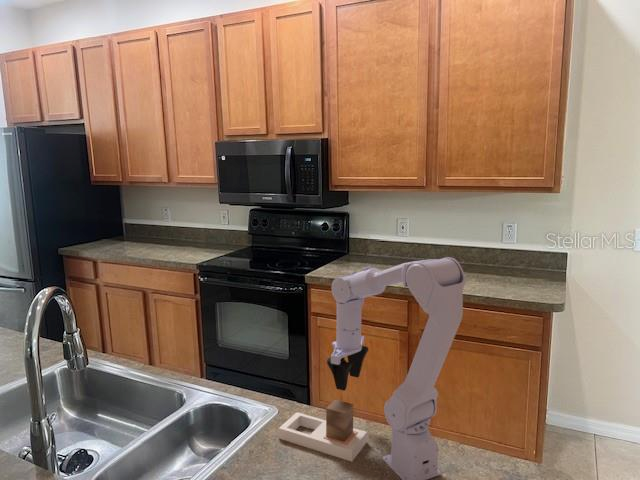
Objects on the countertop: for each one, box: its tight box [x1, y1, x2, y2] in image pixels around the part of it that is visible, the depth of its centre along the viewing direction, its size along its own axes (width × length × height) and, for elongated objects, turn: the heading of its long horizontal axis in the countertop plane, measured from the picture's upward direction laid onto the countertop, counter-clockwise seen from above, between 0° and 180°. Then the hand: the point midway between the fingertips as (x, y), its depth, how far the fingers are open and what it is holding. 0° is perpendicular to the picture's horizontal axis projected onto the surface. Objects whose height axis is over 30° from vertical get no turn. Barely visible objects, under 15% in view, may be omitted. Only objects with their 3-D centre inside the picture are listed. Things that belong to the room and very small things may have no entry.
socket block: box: [278, 412, 368, 463], centre depth 105 cm, size 18×8×3 cm, turn 62°
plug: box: [325, 399, 354, 442], centre depth 103 cm, size 4×4×6 cm
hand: (348, 382), depth 111 cm, fingers open, 7 cm apart
